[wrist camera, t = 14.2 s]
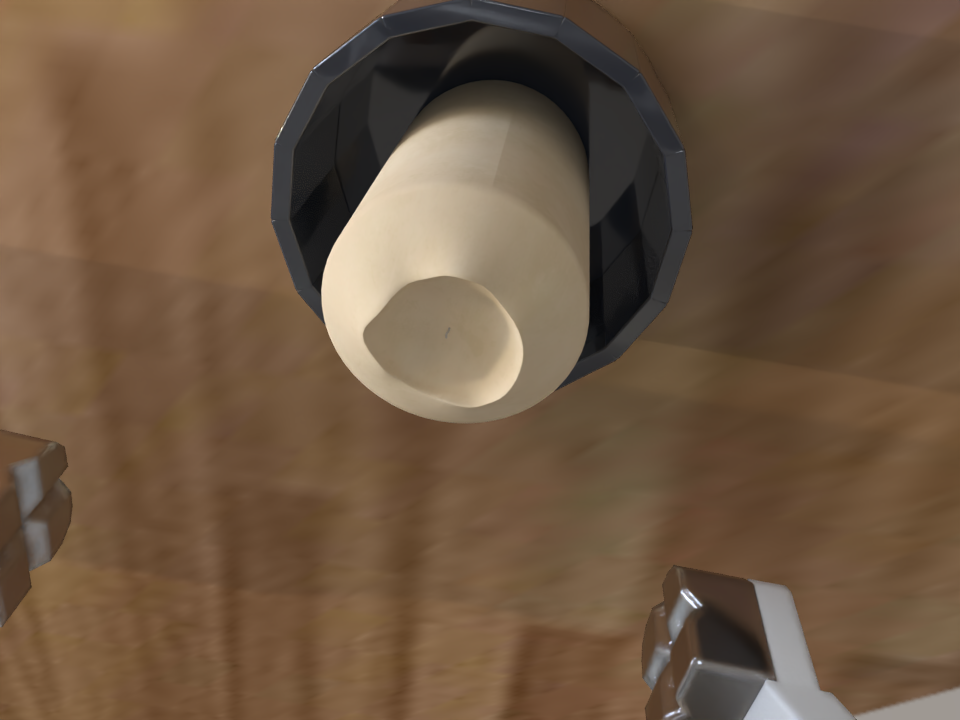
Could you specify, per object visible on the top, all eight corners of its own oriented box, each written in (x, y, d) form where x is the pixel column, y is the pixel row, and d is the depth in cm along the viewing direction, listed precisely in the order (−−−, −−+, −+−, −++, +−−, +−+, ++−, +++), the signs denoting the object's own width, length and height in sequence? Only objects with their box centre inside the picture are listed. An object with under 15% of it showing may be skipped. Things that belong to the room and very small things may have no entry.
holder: (313, 276, 27) (263, 356, 23) (341, -66, 22) (282, -45, 18) (618, 341, 27) (624, 432, 23) (721, 15, 22) (753, 55, 18)
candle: (382, 230, 26) (280, 421, 17) (424, 49, 23) (327, 173, 14) (554, 283, 26) (536, 496, 17) (617, 111, 23) (634, 268, 15)
